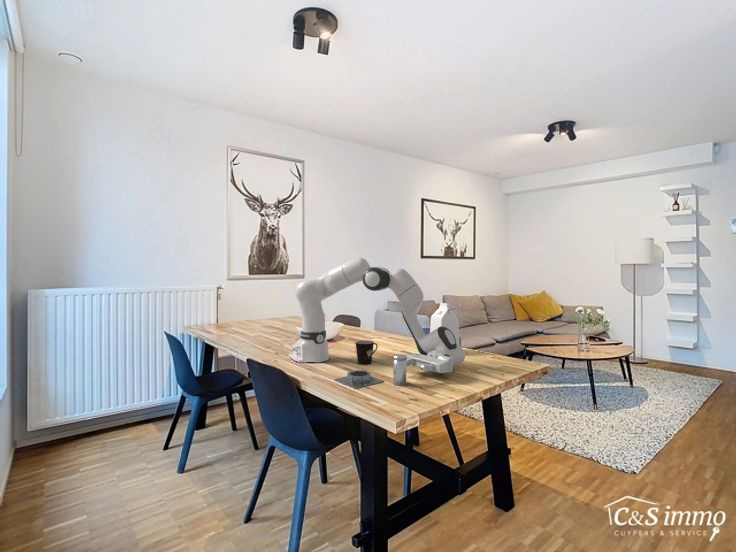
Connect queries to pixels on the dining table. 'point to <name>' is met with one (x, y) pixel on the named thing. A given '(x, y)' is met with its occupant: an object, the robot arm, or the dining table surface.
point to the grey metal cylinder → (399, 369)
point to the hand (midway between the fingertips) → (413, 365)
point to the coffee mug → (365, 351)
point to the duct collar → (359, 379)
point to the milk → (445, 320)
